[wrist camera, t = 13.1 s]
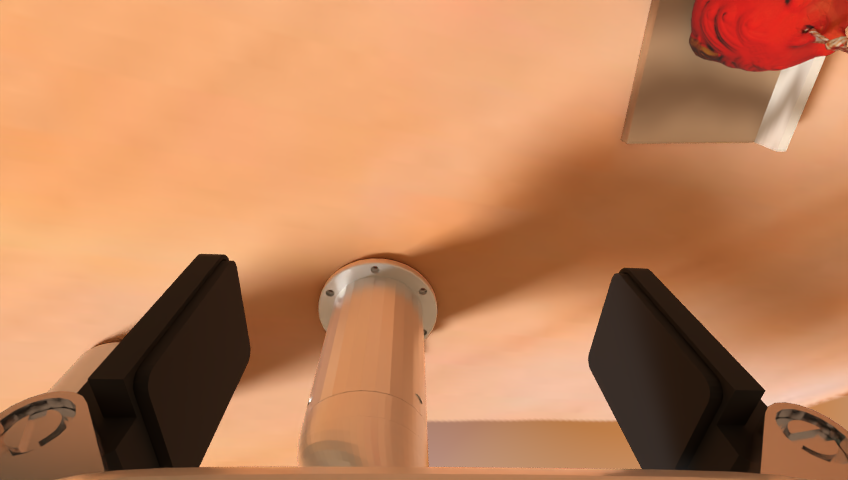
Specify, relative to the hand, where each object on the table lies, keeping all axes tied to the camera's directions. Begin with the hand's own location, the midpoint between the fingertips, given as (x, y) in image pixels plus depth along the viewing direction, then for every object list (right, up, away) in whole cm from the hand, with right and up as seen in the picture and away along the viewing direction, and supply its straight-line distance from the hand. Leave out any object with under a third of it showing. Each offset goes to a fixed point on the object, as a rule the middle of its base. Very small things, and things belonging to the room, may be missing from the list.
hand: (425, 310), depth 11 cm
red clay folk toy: (+23, +19, +22) cm, 37 cm away
